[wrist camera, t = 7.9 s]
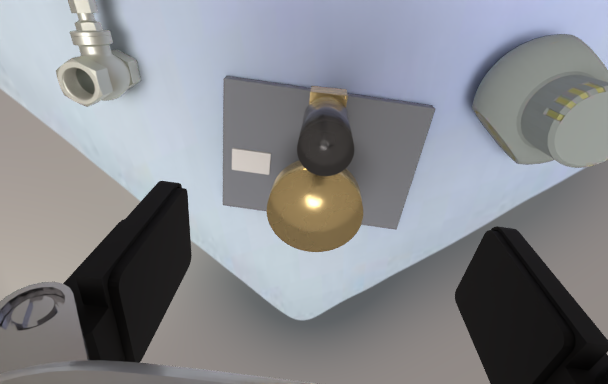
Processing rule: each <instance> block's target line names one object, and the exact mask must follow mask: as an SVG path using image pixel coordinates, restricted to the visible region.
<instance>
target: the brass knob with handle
mask: <svg viewBox="0 0 608 384" xmlns="http://www.w3.org/2000/svg"><path fill="white" fill-rule="evenodd" d="M347 98H348V94H347V90H346V89H338V88H328V87H318V86H311V91H310V101H309V105H308V107H307V108H306V110H305V113H304V117H303V122H302V126H301V131H300V135H299V140H298V145H297V155H298V158H299V161H296V162H294V163H292V164H290V165H289V166H287V167H286V168H285V169H283V170H282V171H281V172H280V174H279V175H278V176H277V178H276V179H275V181H274V183H273V186H272V189H271V193H270V196H269V199H268V203H267V217H268V221H269V224H270V226H271V228H272V230H273V231H274V232H275V234H276V235H277V236H278V237H279V238H280V239H281V240H282V241H284V242H285V243H287V244H288V245H290V246H292V247H294V248H297V249H300V250H303V251H309V252H323V251H329V250H333V249H335V248H338V247H340V246H342V245H344V244H345V243H347V242H348V241H349V240H350V239H352V238H353V237H354V235H355V234H356V233H357V231H358V230H359V228H360V226H361V223H362V220H363V204H362V199H361V193H360V188H359V185H358V183H357V181H356V179H355V178H354V176H353V175H352V174H351V173H350V172H349V171H348V170H347V169H346V168H347V167H348V166H349V164H350V163H351V161H352V159H353V156H354V143H353V137H352V132H351V127H350V122H349V116H348V112H347V109H346V105H347Z"/></svg>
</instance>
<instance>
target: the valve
mask: <svg viewBox="0 0 608 384" xmlns="http://www.w3.org/2000/svg"><path fill="white" fill-rule="evenodd" d="M68 3H69V6H70V9H71V13H77V15H78V18H79V21H78V22H76V23H75V26H76V31H70V35H71V38H72V42H73V44H74V45H78V46H79V49H80V53H81V56H80V57H75V58H71V59H70V60H68V61H67V62H65V63H64V64H63V65H62V66H60V67H59V68H58V69H57V70H56V74H57V78H58V82H59V85H60V87H61V89H62V91H63V93H64V95H65V96H67V97H68V98H70V99H72V100H73V101H75V102H77V103H79V104H82V105H84V106H86V107H88V106H90V105H93V104H95V103H98V102H99V101H101V100H102V101H109V100H114V99H117V98H119V97H121V96H122V95H123V94H124V93H125V92H126V91H127V90H128V89H130V88H131V87H133V86H134V85H136V84H137V83H138V82H140V81H141V78H140V74H139V69H138V65H137V61H136V60H135V59H134V58H132V57H130V56H128V55H127V54H125V53H123V52H121V51H120V50H117V49H115V50H111V49H110V44H112V43H113V40H112V36H111V32H110V30H103V28H102V25H101V23H100V22H97V21H96V20H95V18H94V14H93V13H98V9H97V6H96V2H95V0H68Z"/></svg>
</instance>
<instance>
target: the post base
mask: <svg viewBox="0 0 608 384" xmlns="http://www.w3.org/2000/svg"><path fill="white" fill-rule="evenodd" d="M310 91H311V88H307V87H300V86H293V85H286V84H279V83H272V82H266V81H259V80H252V79H245V78H238V77H231V76H226V77H225V78H224V103H223V205H226V206H233V207H240V208H247V209H254V210H261V211H267V203H268V199H269V196H270V193H271V189H272V186H273V183H274V181H275V179H276V178H277V176H278V175H279V174H280V172H281V171H282V170H283V169H285V168H286V167H287V166H289V165H290V164H292V163H294V162H296V161H299V158H298V155H297V145H298V140H299V135H300V131H301V126H302V122H303V117H304V113H305V110H306V108H307V107H308V105H309V101H310ZM347 94H348V98H347V105H346V109H347V112H348V116H349V122H350V127H351V132H352V137H353V143H354V156H353V159H352V161H351V163H350V164H349V166H348V167H347V168H346V169H347V170H348V171H349V172H350V173H351V174H352V175H353V176H354V178H355V179H356V181H357V183H358V185H359V188H360V193H361V199H362V204H363V220H362V223H361V225H368V226H375V227H382V228H389V229H397V226H398V223H399V220H400V217H401V214H402V211H403V208H404V204H405V201H406V198H407V195H408V192H409V189H410V186H411V183H412V180H413V177H414V173H415V170H416V167H417V164H418V161H419V158H420V155H421V152H422V149H423V146H424V143H425V139H426V136H427V133H428V130H429V127H430V124H431V121H432V118H433V115H434V112H435V108H434V107H433V106H432V105H426V104H419V103H412V102H405V101H398V100H391V99H384V98H377V97H370V96H363V95H356V94H349V93H347Z"/></svg>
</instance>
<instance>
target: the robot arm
mask: <svg viewBox="0 0 608 384" xmlns="http://www.w3.org/2000/svg"><path fill="white" fill-rule="evenodd" d="M190 262H191V242H190V226H189V211H188V195H187V190H186V189H183V188H182V186H181V184H180V183H174V182H166V181H160V182H158V183H157V184H156V186H155V187H154V188H153V189H152V190H151V191H150V192H149V193H148V194H147V196H146V197H145V198H144V199H143V200H142V201H141V202H140V203H139V205H137V207H136V208H135V209H134V210H133V211H132V212H131V213H130V214H129V216H128V217H127V218H126V219H124V220H122V221H121V222H119V223H118V225H116V227H115V228H114V229H113V230H112V231H111V232H110V233H109V234H108V235H107V236H106V238H105V239H104V240H103V241H102V242H101V243H100V244H99V245H98V246H97V248H95V250H94V251H93V252H92V253H91V254H90V255H89V256H88V257H87V258H86V260H84V262H83V263H82V264H81V265H80V266H79V267H78V268H77V269H76V270H75V271H74V272H73V274H72V275H71V276H70V277H69V278H68V279H67V280H66V281H65V282H64V283H63V284H62V283H57V282H42V283H37V284H33V285H29V286H27V287H24V288H21V289H19V290H17V291H15V292H13V293H12V294H10V295H8V296H6V297H5V298H4V299H3V300H1V301H0V384H318V383H310V382H302V381H294V380H286V379H277V378H269V377H261V376H253V375H245V374H237V373H228V372H220V371H212V370H204V369H194V368H185V367H176V366H166V365H157V364H147V363H139V362H140V361H141V360H142V358H143V356H144V354H145V352H146V350H147V348H148V346H149V344H150V342H151V340H152V338H153V336H154V334H155V332H156V331H157V329H158V327H159V325H160V322H161V321H162V319H163V317H164V315H165V313H166V311H167V309H168V307H169V305H170V303H171V301H172V299H173V297H174V295H175V293H176V291H177V289H178V287H179V285H180V283H181V281H182V279H183V277H184V275H185V273H186V271H187V269H188V267H189V265H190ZM455 300H456V303H457V306H458V308H459V310H460V313H461V315H462V317H463V320H464V322H465V324H466V327H467V329H468V331H469V334H470V336H471V339H472V341H473V343H474V346H475V348H476V350H477V353H478V355H479V357H480V360H481V362H482V364H483V367H484V369H485V372H486V374H487V376H488V379H489V381H490V383H491V384H608V355H607V354H606V353H607V351H608V340H607V339H606V337H605V336H604V335H603V334H602V333H601V332H600V330H599V329H598V328H597V327H596V325H595V324H594V323H593V322H592V320H591V319H590V318H589V317H588V316H587V314H586V313H585V312H584V311H583V309H582V308H581V307H580V306H579V305H578V303H577V302H576V301H575V300H574V298H573V297H572V296H571V295H570V294H569V292H568V291H567V290H566V289H565V287H564V286H563V285H562V284H561V283H560V281H559V280H558V279H557V278H556V277H555V275H554V274H553V273H552V272H551V270H550V269H549V268H548V267H547V266H546V264H545V263H544V262H543V261H542V259H541V258H540V257H539V256H538V255H537V253H536V252H535V251H534V250H533V248H532V247H531V246H530V245H529V244H528V242H527V241H526V240H525V239H524V238H523V236H522V235H521V234H520V233H519V232H518V231H517V230H516V229H511V228H504V227H494V228H492V229H491V230H489V231H487V232H486V233H485V234H484V236H483V239H482V240H481V242H480V244H479V246H478V248H477V250H476V252H475V254H474V256H473V258H472V260H471V262H470V264H469V266H468V268H467V270H466V272H465V274H464V276H463V278H462V280H461V282H460V284H459V286H458V288H457V289H456V292H455Z"/></svg>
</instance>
